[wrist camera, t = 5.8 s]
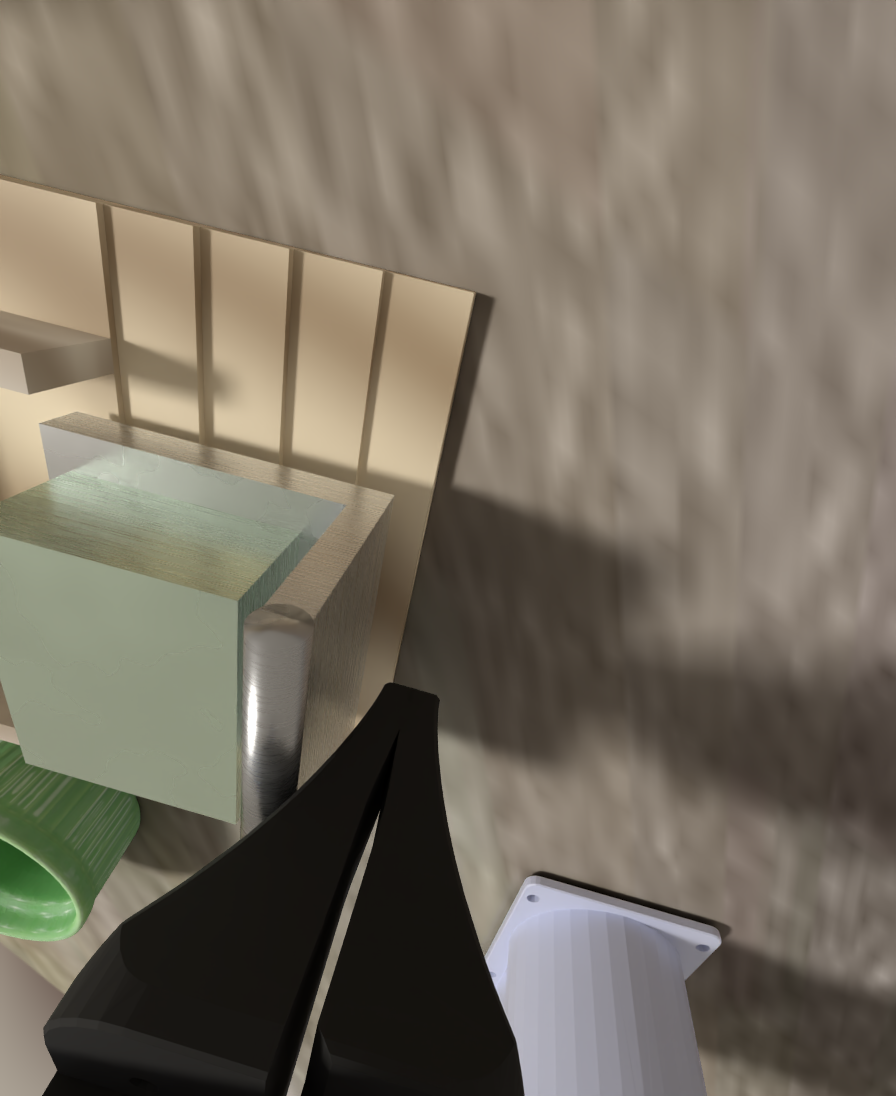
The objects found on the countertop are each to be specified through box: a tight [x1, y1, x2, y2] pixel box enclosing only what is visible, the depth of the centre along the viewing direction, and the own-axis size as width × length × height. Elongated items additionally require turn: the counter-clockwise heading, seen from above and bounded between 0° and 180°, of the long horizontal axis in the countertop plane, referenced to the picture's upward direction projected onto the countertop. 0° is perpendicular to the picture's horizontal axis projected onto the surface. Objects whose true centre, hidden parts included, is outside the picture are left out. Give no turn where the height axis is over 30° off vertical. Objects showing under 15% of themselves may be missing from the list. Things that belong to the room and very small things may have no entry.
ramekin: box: [0, 740, 140, 941], centre depth 22 cm, size 9×9×4 cm
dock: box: [0, 175, 476, 745], centre depth 15 cm, size 18×15×4 cm
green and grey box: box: [0, 412, 394, 840], centre depth 12 cm, size 9×8×6 cm
